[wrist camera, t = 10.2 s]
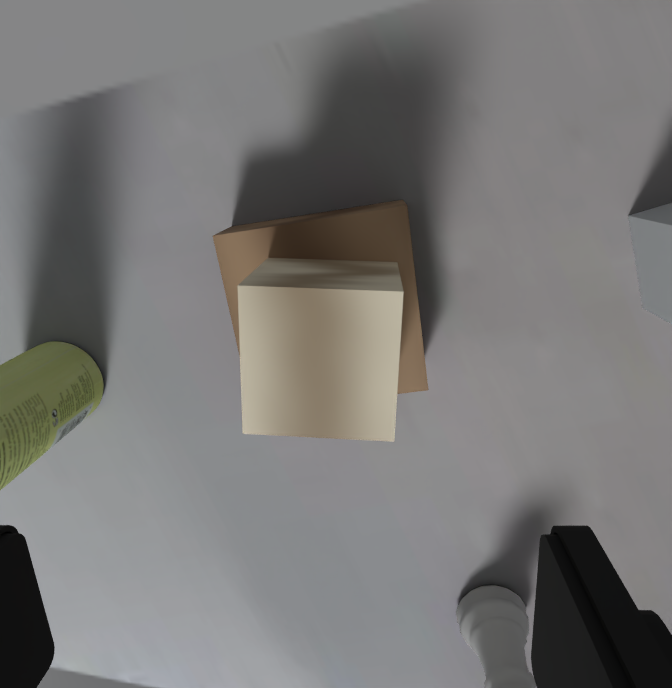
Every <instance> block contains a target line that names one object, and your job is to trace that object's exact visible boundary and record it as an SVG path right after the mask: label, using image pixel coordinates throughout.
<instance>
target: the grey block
mask: <svg viewBox="0 0 672 688" xmlns="http://www.w3.org/2000/svg"><path fill="white" fill-rule="evenodd" d="M628 219H629V225H630V232H631V238H632V245H633V251H634V257H635V264H636V270H637V276H638V283H639V289H640V296H641V302H642V308H643V309H645V310H647V311H649V312H651V313H652V314H654V315H656V316H658V317H660V318H661V319H663V320H665V321H667V322H669V323H670V324H672V203H669V204H665V205H662V206H659V207H655V208H652V209H649V210H645V211H642V212H639V213H635V214H632V215H629V216H628Z"/></svg>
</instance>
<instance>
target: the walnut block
mask: <svg viewBox="0 0 672 688" xmlns="http://www.w3.org/2000/svg"><path fill="white" fill-rule="evenodd" d="M213 239H214V244H215V248H216V253H217V257H218V261H219V266H220V270H221V275H222V279H223V284H224V288H225V293H226V297H227V302H228V306H229V310H230V315H231V319H232V324H233V328H234V333H235V337H236V342H237V346H238V351H239V355H240V341H239V313H238V285H239V284H240V283H241V282H242V281H243V280H244V279H245V278H246V277H247V276H249V275H250V274H251V273H252V272H253V271H254V270H255V269H256V268H257V267H258V266H260V265H261V264H262V263H263V262H264V261H265V260H266V259H267V258H288V259H318V260H348V261H377V262H397V263H398V268H399V273H400V277H401V282H402V287H403V291H404V293H403V309H402V325H401V341H400V357H399V373H398V389H397V394H400V393H408V392H417V391H425V390H428V383H427V374H426V365H425V357H424V348H423V339H422V330H421V321H420V313H419V304H418V295H417V286H416V278H415V269H414V260H413V251H412V242H411V234H410V225H409V216H408V207H407V205H406V203H405V202H404V201H403V200H398V201H391V202H385V203H378V204H372V205H366V206H359V207H353V208H347V209H340V210H334V211H327V212H321V213H315V214H308V215H302V216H295V217H289V218H283V219H276V220H270V221H263V222H257V223H251V224H244V225H238V226H232V227H230V228H228V229H226V230H224V231H222V232H220V233H218V234H216V235H214V236H213Z"/></svg>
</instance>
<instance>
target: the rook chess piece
mask: <svg viewBox="0 0 672 688" xmlns="http://www.w3.org/2000/svg"><path fill="white" fill-rule="evenodd" d="M456 615H457V623H458V624H459V626H460V633H461V635H462V637H463V638H464V640H465V641H466V643H467V644H468V646H469V647H471V648H472V650H473V651H474V653H475V654H477V655H478V657H479V659H480V662H481V664H482V667H483V670H484V672H485V676H486V680H485V683H484V685H485V688H536V683H535V679H534V677H533V675H532V674H531V673H530V672H529V670H528V667H527V664H526V657H525V651H524V647H525V644H526V642H527V640H526V638H527V636H528V633H529V622H528V616H527V614H526V606H525V604H524V603H523V601H522V600H521V598H520V596H518V595H517V594H515V593H514V592H512V591H511V590H509V589H507V588H505V587H500V586H496V585H485V586H480V587H478V588H475V589H473V590H471V591H470V592H469V593H468V594H467V595H466V596H465V597H464V598H463V599H462V600H461V601H460V603H459V606H458V608H457V611H456Z"/></svg>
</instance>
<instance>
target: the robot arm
mask: <svg viewBox="0 0 672 688" xmlns="http://www.w3.org/2000/svg"><path fill="white" fill-rule="evenodd" d="M53 656H54V642H53V638H52V635H51V631H50V627H49V624H48V620H47V616H46V613H45V609H44V605H43V602H42V598H41V594H40V591H39V587H38V583H37V579H36V576H35V572H34V568H33V565H32V561H31V557H30V554H29V550H28V546H27V543H26V540H25V537H24V536H23V535H22V534H19V533H18V531H17V529H16V528H15V527H14V526H10V525H0V688H37V686H38V685H39V683H40V681H41V680H42V678H43V677H44V675H45V674H46V672H47V671H48V669H49V667H50V665H51V663H52V660H53ZM531 661H532V670H533V675H534V679H535V683H536V686H537V688H672V635H671V633H670V632H669V630H668V629H667V627H666V625H665V624H664V622H663V621H662V620H661V618H660V617H659V616H658V615H657V614H656V613H654V612H653V611H652V610H638V608H637V607H636V605H635V603H634V602H633V600H632V598H631V596H630V595H629V593H628V591H627V589H626V588H625V586H624V584H623V583H622V581H621V579H620V577H619V576H618V574H617V572H616V571H615V569H614V567H613V565H612V564H611V562H610V560H609V558H608V557H607V555H606V553H605V552H604V550H603V548H602V546H601V545H600V543H599V541H598V540H597V538H596V536H595V534H594V533H593V531H592V530H591V528H590V527H588V526H553V527H552V529H551V534H550V535H541V538H540V547H539V560H538V573H537V586H536V599H535V612H534V625H533V638H532V651H531Z"/></svg>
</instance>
